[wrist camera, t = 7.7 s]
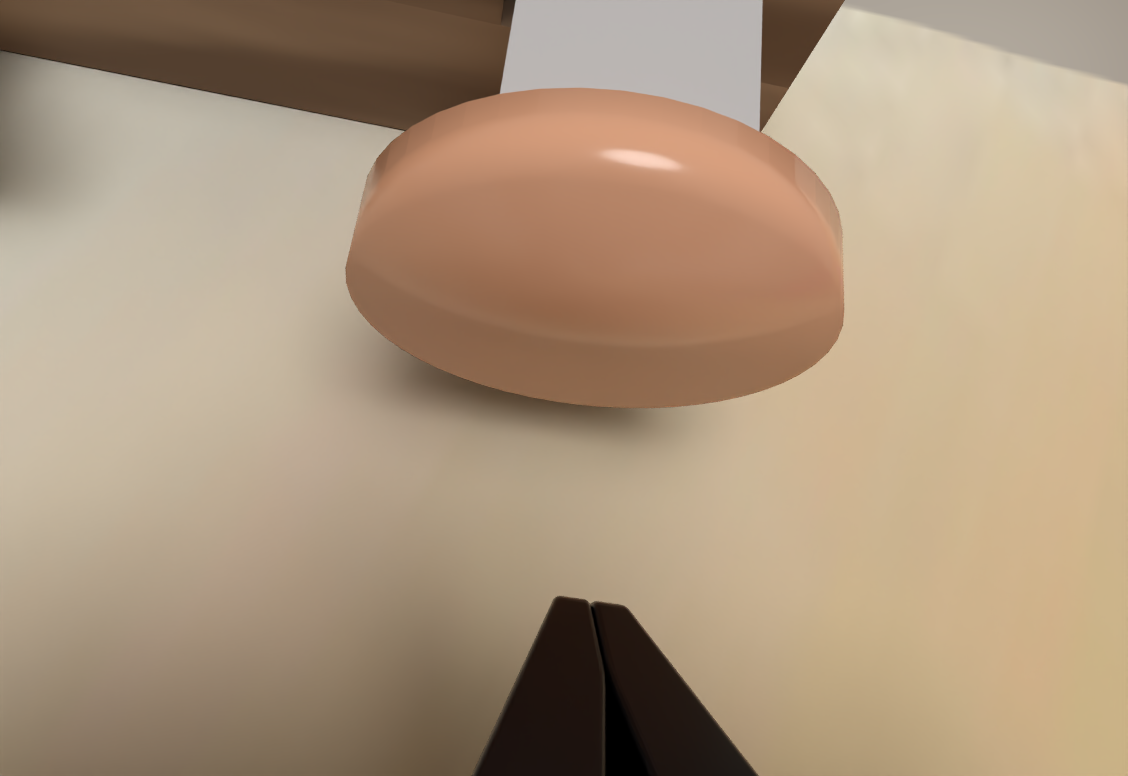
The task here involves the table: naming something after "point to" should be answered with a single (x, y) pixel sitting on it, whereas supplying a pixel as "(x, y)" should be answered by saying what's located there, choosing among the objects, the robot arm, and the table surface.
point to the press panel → (337, 48)
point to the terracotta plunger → (606, 218)
